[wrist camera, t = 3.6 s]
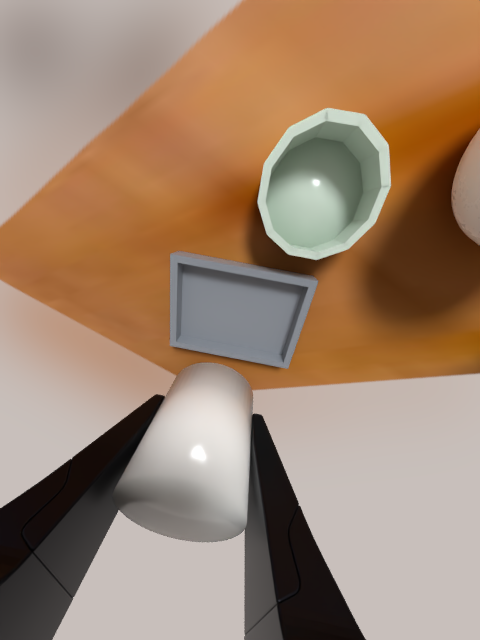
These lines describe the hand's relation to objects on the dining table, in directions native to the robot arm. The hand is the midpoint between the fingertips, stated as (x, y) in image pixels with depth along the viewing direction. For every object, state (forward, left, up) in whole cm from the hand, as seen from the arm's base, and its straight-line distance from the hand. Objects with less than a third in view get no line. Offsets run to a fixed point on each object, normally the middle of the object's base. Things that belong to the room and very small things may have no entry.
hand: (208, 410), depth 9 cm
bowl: (-4, -10, -12) cm, 16 cm away
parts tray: (0, 0, -12) cm, 12 cm away
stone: (0, 0, -1) cm, 1 cm away
